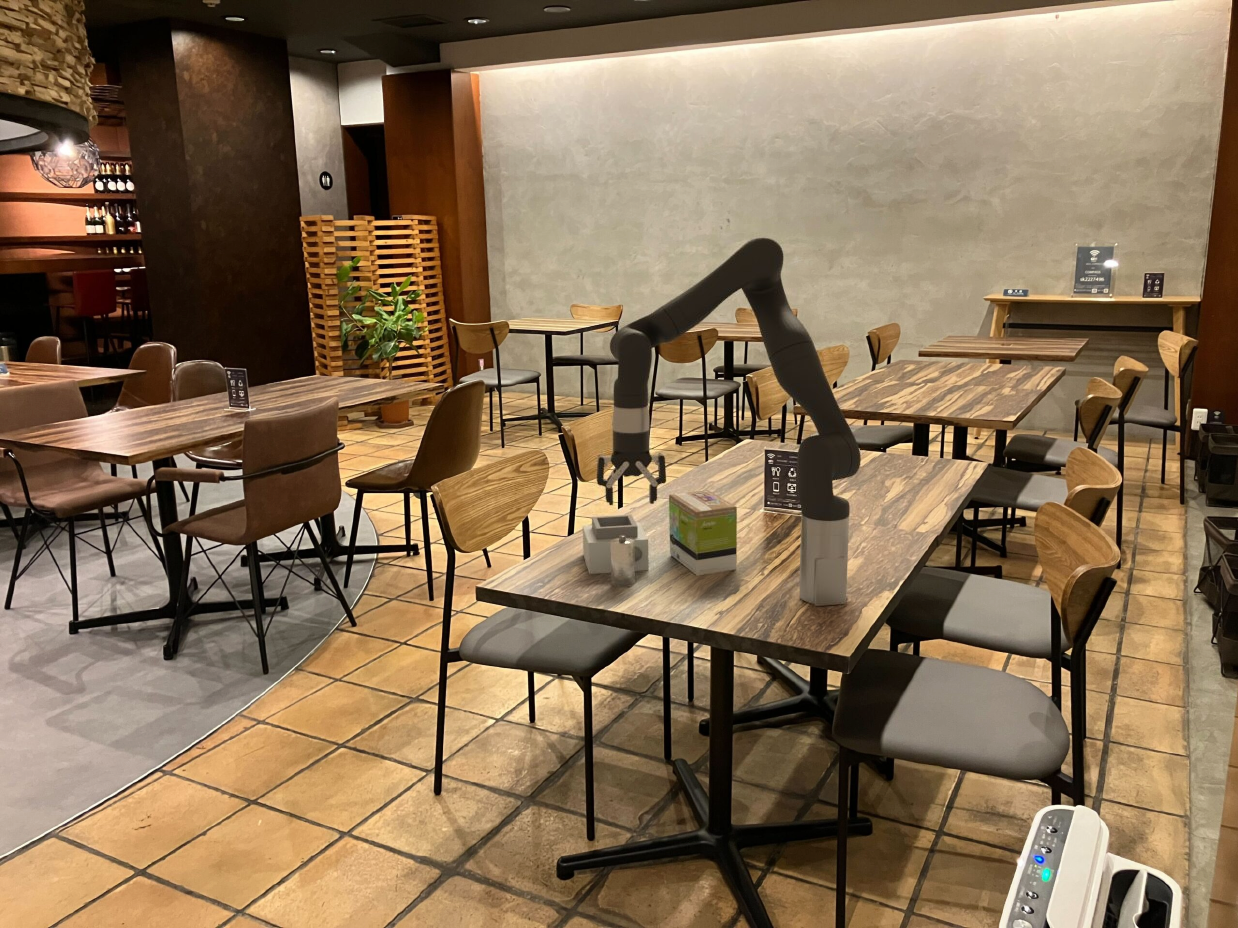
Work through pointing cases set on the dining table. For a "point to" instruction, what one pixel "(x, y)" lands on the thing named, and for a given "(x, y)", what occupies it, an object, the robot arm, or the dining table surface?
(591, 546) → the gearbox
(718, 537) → the tea box
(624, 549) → the spout can
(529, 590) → the dining table surface
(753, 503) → the dining table surface
